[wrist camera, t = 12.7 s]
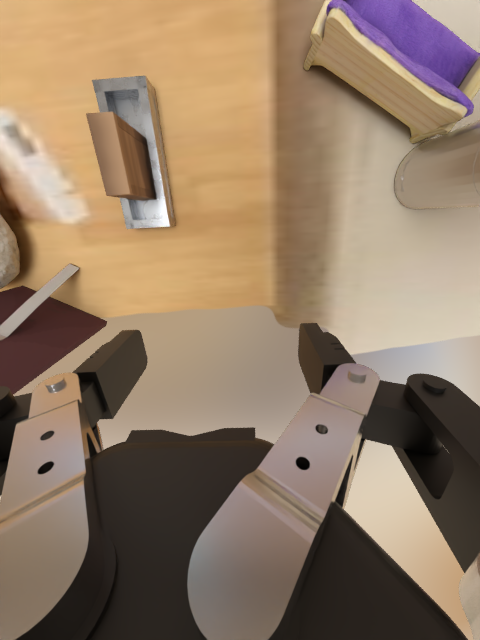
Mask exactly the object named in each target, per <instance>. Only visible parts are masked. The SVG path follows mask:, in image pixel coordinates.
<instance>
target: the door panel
mask: <svg viewBox="0 0 480 640" xmlns="http://www.w3.org/2000/svg"><path fill="white" fill-rule="evenodd" d="M86 115H87V119H88V123H89V127H90V131H91V135H92V139H93V143H94V147H95V151H96V155H97V159H98V163H99V167H100V171H101V175H102V179H103V183H104V187H105V191H106V195H107V196H113V197H119V198H126V199H132V200H139V201H142V200H157V196H156V190H155V184H154V178H153V173H152V167H151V161H150V155H149V150H148V144H147V138H145V137H144V136H143V135H142V134H140V133H139V132H138V131H136V130H135V129H134V128H133V127H131V126H130V125H129V124H128V123H126V122H125V121H124V120H123V119H121V118H120V117H119V116H118V115H116V114H115V113H114V112H100V113H88V114H86Z"/></svg>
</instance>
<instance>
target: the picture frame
mask: <svg viewBox="0 0 480 640" xmlns="http://www.w3.org/2000/svg"><path fill="white" fill-rule="evenodd" d="M78 269H79V268H78V267H76V266H74V265H72V264H68V265H67V266H66V267H65V268H64V269H63V270H61V271H60V272H59V273H58V274H57V275H56V276H55V277H53V278H52V279H51V280H50V281H49V282H48V283H47V284H45V285H44V286H43V287H42V288H41V289H40V290H38V291H37V292H36V291H34V290H32V289H29V288H27V287H24V286H20V287H16V288H13V289H9V290H6V291H2V292H0V386H6V387H8V388H9V389H10V391H11V392H12V394H15V393H16V392H17V391H19V390H20V389H21V388H23V387H24V386H25V385H27V384H28V383H29V382H31V381H32V380H33V379H34V378H36V377H37V376H39V375H40V374H42V373H43V372H44V371H46V370H47V369H48V368H50V367H51V366H52V365H54V364H55V363H56V362H58V361H59V360H60V359H62V358H63V357H64V356H66V355H67V354H68V353H70V352H71V351H72V350H74V349H75V348H77V347H78V346H79V345H80V344H82V343H83V342H85V341H86V340H87V339H89V338H90V337H91V336H93V335H94V334H95V333H97V332H98V331H99V330H101V329H102V328H103V327H105V326H106V324H107V321H105V320H103V319H100V318H98V317H96V316H93V315H91V314H89V313H86V312H84V311H81V310H79V309H77V308H74V307H72V306H70V305H67V304H65V303H62V302H60V301H58V300H55V299H53V298H51V297H49V296H50V295H51V294H52V293H53V292H54V291H55V290H56V289H57V288H59V287H60V286H61V285H62V284H63V283H64V282H65V281H66V280H67V279H68V278H69V277H71V276H72V275H73V274H74V273H75V272H76V271H77V270H78Z"/></svg>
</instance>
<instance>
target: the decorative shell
mask: <svg viewBox="0 0 480 640" xmlns="http://www.w3.org/2000/svg"><path fill="white" fill-rule="evenodd" d="M19 261H20V258H19V249H18V245H17V241H16V237H15V234H14V233H13V231H12V230H11V229H10V227H9V225H8V224H7V223H6V221H5V220H4V219H3V217H2V216H1V214H0V289H1V288H3V287H4V286H6V285H7V284H8V283H10V282H11V281H12V280H13V279H15V277H16V276H17V275H18V274H19V273H20V271H19V268H20V264H19Z"/></svg>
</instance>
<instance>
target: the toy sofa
mask: <svg viewBox="0 0 480 640" xmlns="http://www.w3.org/2000/svg"><path fill="white" fill-rule="evenodd" d="M310 39H311V41H312V42H313V44H312V46H311V48H310V51H309V53H308V55H307V57H306V60H305V62H304V65H303V67H304V69H305V70H309V68H310V66H311V65H322V66H324V67H325V68H327V69H328V70H330V71H331V72H333V73H334V74H335V75H337V76H338V77H340V78H341V79H343V80H344V81H346V82H347V83H348V84H350V85H351V86H353V87H354V88H355V89H357V90H358V91H359V92H361V93H362V94H364V95H365V96H367V97H368V98H370V99H371V100H372V101H374V102H375V103H377V104H378V105H379V106H381V107H382V108H384V109H385V110H386V111H388V112H389V113H391V114H392V115H393V116H395V117H396V118H397V119H399V120H400V121H401V122H403V123H404V124H406V125H407V126H408V127H410V131H411V138H410V142H411V143H416V142H418V141H421V140H423V139H425V138H428V137H431V136H434V135H436V134H439V135H446V134H448V133H449V132H450V130H451V129H452V128H453V126H454V125H455V123H456V122H457V121H459V120H461V119H462V118H463V117H466V116H469V115H470V114H472V112H473V108H474V106H473V103H472V102H471V100H472V99H473V98H474V96H475V95H476V93H477V92H478V90H479V89H480V53H477V52H476V51H475V50H473V49H472V48H471V47H470V46H468V45H467V44H466V43H465V42H463V41H462V40H461V39H460V38H459V37H458V36H456V35H455V34H454V33H453V32H452V31H450V30H449V29H448V28H447V27H445V26H444V25H443V24H442V23H440V22H439V21H437V20H436V19H433V18H432V17H431V16H430V15H429V14H427V12H425V11H424V10H423V9H421V8H420V7H419V6H418V5H416V4H415V3H414V2H412V1H411V0H325V1H324V3H323V6H322V8H321V10H320V13H319V15H318V17H317V20H316V22H315V24H314V27H313V29H312V31H311V35H310Z"/></svg>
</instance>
